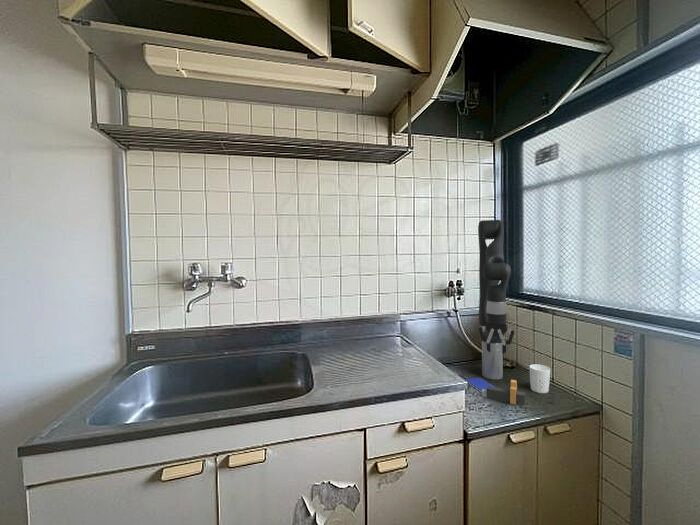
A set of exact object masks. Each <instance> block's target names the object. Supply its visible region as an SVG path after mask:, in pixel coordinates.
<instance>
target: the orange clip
mask: <svg viewBox="0 0 700 525" xmlns="http://www.w3.org/2000/svg"><path fill="white" fill-rule="evenodd" d="M517 381H518V380H515V379H510V388H509V390H510V403H509V404H510V405H515V406H516V405H517V404H516V391H518V383H517Z"/></svg>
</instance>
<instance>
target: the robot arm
mask: <svg viewBox="0 0 700 525" xmlns="http://www.w3.org/2000/svg"><path fill="white" fill-rule="evenodd" d="M477 226H478V227H477V231H478V232H477V234H478V235H477V236H478V247H479V248H478V250H479V251H478V252H479V253H478V254H479V257H478V258H479V260H478V261H479V262H478V276H479V277H478V281H479V282H478V283H479V300H478V301H479V302H478V307H479V308H478V323H479V325H480V326H479V327H478V332H479V336H480V339H481V376H482V377H484V378H486V379H489V380H501V379H503V374H504V373H503V371H504V370H503V368H504V367H503V360H504V356H503V355H505V354H506V353H507V345H511V344H512V341H513V338H514V335H515V331H516V330H515V329H513V328H512V329H511V328H509V327H508V326H507V321H508V320H507V319H508V318H507V313H508V312H507V310H508V308H507V306H508V305H507V288H508V287H507V286H508V283H509V280H510V277H511V274H512V269H511V266H510V264H508V263H505V255H504V241H505V240H504V239H505V238H504V236H505V235H504V234H505V233H504V232H505V231H504V230H505V229H504V223H503V221H502V220H501V219H490V220H489V219H488V220H480V221H479V223H478V225H477ZM488 240H492V241H491V242H490V243H489V245H487V242H486V241H488ZM486 331H487V332H486ZM506 332H508V335H509V337H508V340H507V339H506V336H505V334H506Z"/></svg>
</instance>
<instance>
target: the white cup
mask: <svg viewBox="0 0 700 525" xmlns="http://www.w3.org/2000/svg"><path fill="white" fill-rule="evenodd" d="M550 377H551V368H550V367H549V366H547V365H543V364H536V363H535V364H530V365H529V381H530V382H529V384H530V389H531V390H532V391H533V392H536V393H538V394H539V393H540V394H548V392H549V391H550V390H549V389H550V380H551V378H550Z"/></svg>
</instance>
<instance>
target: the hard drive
mask: <svg viewBox="0 0 700 525" xmlns="http://www.w3.org/2000/svg"><path fill="white" fill-rule="evenodd" d="M465 380H466V381H467V382H469V384H470V385H469V384H468V385H469V386H471V385H472V386H473V388H474V387H475V388H476V389H475V388H474V389H475V390H477V391H478V390H479V391H478V392H480V393H481V392H482V389H486V390H487V386H491V387H495V386H494V385H493V384H491V383H489V382H488V381H486V380H484V379H483V378H481V377H476V378H475V377H474V378H467V379H465ZM472 386H471V387H472Z"/></svg>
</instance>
